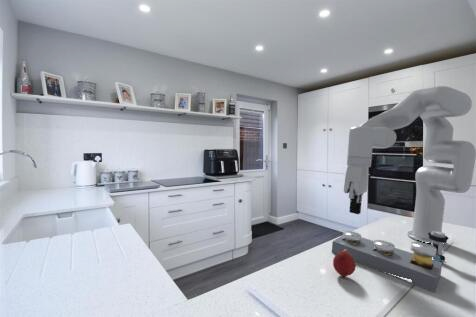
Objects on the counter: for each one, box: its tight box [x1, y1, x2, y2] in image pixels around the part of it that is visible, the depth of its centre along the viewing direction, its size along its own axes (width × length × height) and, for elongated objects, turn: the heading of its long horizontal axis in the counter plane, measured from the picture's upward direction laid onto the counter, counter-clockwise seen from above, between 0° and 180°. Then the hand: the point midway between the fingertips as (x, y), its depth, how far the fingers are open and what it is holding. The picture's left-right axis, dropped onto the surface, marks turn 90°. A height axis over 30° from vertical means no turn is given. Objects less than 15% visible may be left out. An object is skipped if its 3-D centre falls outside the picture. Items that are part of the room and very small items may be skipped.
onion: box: [332, 249, 356, 278], centre depth 66 cm, size 6×6×8 cm
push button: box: [428, 231, 449, 266], centre depth 78 cm, size 7×5×10 cm
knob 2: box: [410, 241, 437, 269], centre depth 68 cm, size 6×6×6 cm
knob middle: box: [373, 239, 396, 256], centre depth 76 cm, size 6×6×6 cm
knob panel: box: [331, 235, 443, 293], centre depth 76 cm, size 13×28×4 cm, turn 43°
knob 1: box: [342, 230, 362, 245], centre depth 83 cm, size 6×6×6 cm
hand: (354, 212), depth 82 cm, fingers closed
